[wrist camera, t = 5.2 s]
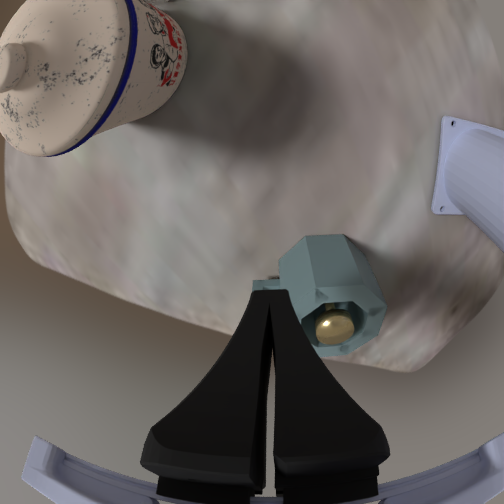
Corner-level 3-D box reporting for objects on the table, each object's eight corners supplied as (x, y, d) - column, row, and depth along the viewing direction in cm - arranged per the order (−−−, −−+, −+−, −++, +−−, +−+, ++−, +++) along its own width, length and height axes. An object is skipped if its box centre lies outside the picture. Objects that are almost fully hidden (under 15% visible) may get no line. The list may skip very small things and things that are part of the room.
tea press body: (368, 233, 21) (394, 281, 16) (356, 300, 24) (372, 351, 19) (250, 238, 21) (244, 290, 16) (257, 306, 25) (254, 360, 20)
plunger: (348, 262, 21) (365, 311, 16) (343, 296, 23) (356, 346, 18) (302, 264, 21) (310, 316, 17) (301, 299, 23) (307, 350, 18)
